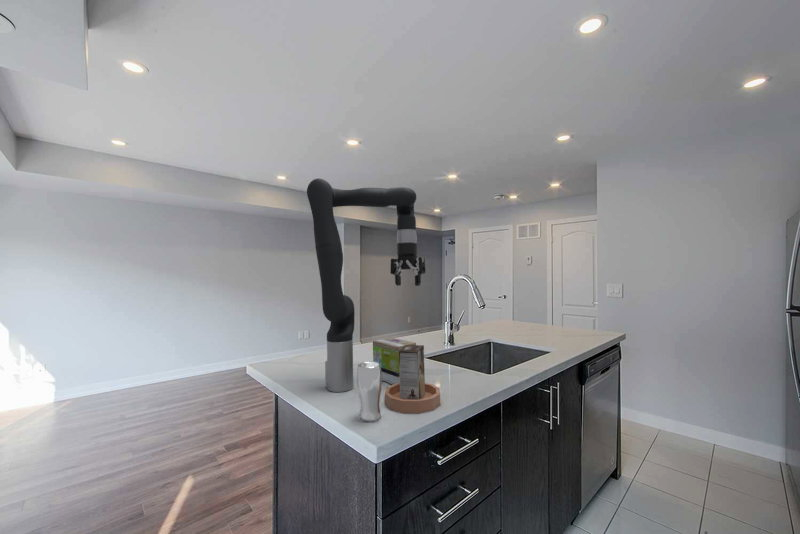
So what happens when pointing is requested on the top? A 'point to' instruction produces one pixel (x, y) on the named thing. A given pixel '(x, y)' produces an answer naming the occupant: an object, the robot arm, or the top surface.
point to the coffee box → (412, 372)
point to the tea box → (389, 357)
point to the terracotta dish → (412, 406)
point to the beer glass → (369, 390)
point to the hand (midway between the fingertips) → (407, 285)
